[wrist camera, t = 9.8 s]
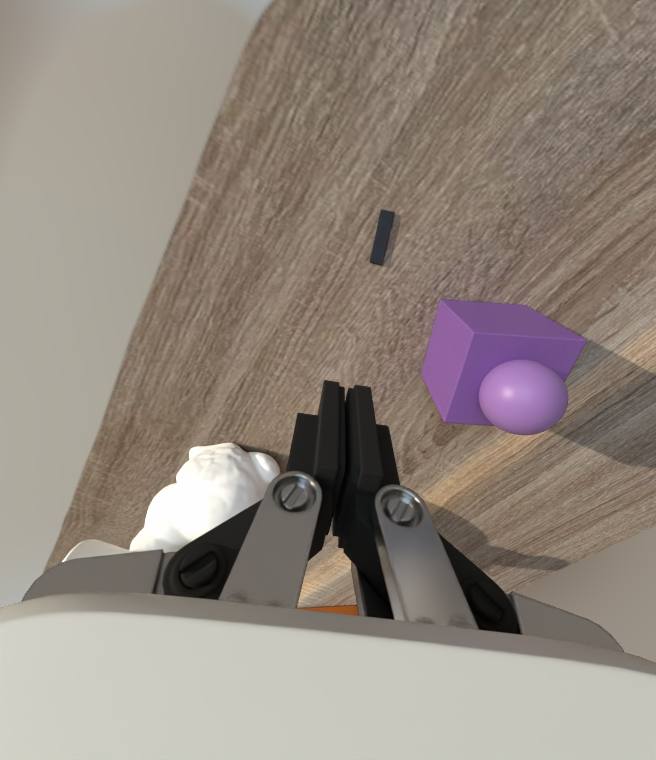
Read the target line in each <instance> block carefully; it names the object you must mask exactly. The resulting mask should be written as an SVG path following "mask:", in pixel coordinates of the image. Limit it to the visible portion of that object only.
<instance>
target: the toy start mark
mask: <svg viewBox="0 0 656 760" xmlns="http://www.w3.org/2000/svg"><path fill="white" fill-rule="evenodd" d="M393 216H394V212H391V211H385V210H381V213H380V217H379V222H378V226H377V231H376V236H375V240H374V245H373V249H372V254H371V258H370V262H371V263H377V264H382V262H383V258H384V254H385V249H386V245H387V241H388V237H389V233H390V229H391V224H392V220H393Z"/></svg>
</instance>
